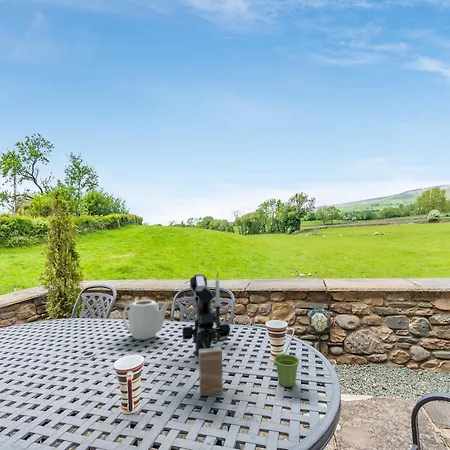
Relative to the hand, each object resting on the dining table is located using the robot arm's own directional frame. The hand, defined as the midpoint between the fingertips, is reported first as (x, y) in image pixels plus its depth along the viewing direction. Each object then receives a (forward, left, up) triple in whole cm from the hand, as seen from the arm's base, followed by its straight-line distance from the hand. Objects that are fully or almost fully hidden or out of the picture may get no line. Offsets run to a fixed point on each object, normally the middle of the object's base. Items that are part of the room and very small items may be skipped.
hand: (208, 352), depth 117 cm
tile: (+6, -5, -11) cm, 13 cm away
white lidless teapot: (-61, +12, -11) cm, 63 cm away
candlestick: (-29, +35, -11) cm, 47 cm away
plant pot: (+23, +18, -11) cm, 31 cm away
